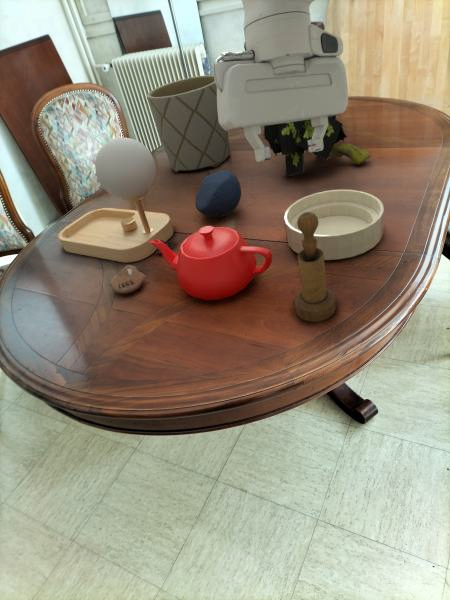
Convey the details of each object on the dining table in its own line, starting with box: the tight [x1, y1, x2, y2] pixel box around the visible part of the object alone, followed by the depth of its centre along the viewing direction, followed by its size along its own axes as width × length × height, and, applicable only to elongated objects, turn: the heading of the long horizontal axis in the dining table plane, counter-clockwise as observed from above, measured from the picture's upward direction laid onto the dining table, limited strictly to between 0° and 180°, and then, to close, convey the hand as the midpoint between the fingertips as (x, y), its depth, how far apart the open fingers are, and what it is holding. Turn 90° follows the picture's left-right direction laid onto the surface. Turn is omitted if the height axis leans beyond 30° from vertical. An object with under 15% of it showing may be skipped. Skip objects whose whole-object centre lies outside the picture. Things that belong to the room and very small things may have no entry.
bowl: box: [283, 189, 385, 261], centre depth 85 cm, size 19×19×6 cm
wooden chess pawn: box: [294, 212, 337, 323], centre depth 65 cm, size 7×6×18 cm
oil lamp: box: [108, 264, 147, 294], centre depth 87 cm, size 9×4×8 cm
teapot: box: [149, 225, 273, 301], centre depth 79 cm, size 25×16×12 cm, turn 69°
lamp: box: [57, 137, 175, 263], centre depth 98 cm, size 33×17×25 cm, turn 59°
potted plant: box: [263, 115, 371, 178], centre depth 110 cm, size 21×22×30 cm
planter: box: [146, 74, 231, 174], centre depth 133 cm, size 23×23×24 cm
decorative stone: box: [195, 169, 242, 218], centre depth 103 cm, size 12×12×10 cm
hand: (290, 156), depth 61 cm, fingers open, 8 cm apart
